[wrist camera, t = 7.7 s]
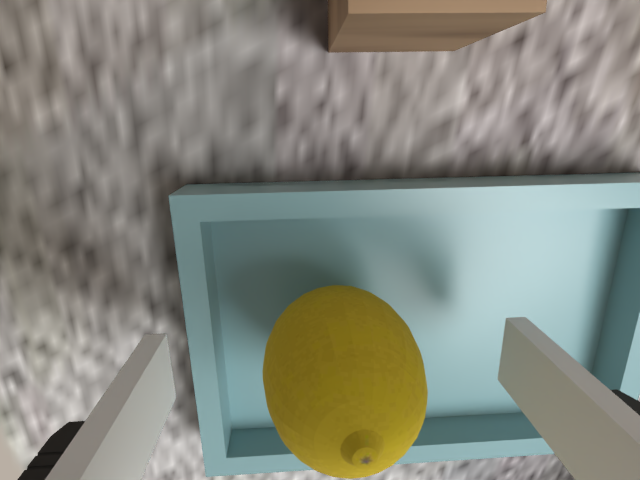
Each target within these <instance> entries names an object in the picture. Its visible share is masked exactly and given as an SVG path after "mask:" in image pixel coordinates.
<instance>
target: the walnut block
mask: <svg viewBox="0 0 640 480" xmlns="http://www.w3.org/2000/svg"><path fill="white" fill-rule="evenodd" d="M546 4H547V0H328V52H409V51H455V50H457V49H460V48H462V47H465V46H467V45H469V44H472V43H474V42H476V41H479V40H481V39H484V38H486V37H488V36H491V35H493V34H495V33H498V32H500V31H502V30H505V29H507V28H510V27H512V26H514V25H517V24H519V23H521V22H524V21H526V20H529V19H531V18H533V17H536V16H538V15H540V14H543V13H545V12H546Z"/></svg>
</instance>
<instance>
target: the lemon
mask: <svg viewBox="0 0 640 480" xmlns="http://www.w3.org/2000/svg"><path fill="white" fill-rule="evenodd" d="M262 373H263V384H264V390H265V397H266V403H267V407H268V410H269V413H270V416H271V418H272V421H273V423H274V425H275V427H276V429H277V431H278V433H279V436H280V438H281V439H282V441H283V442H284V444H285V445H286V446H287V447H288V449H289V450H290V451H291V452H292V453H293V454H294V455H295V456H296V457H297V458H298V459H299V460H300V461H301V462H303V463H304V464H306V465H307V466H309V467H311V468H312V469H314V470H316V471H318V472H320V473H323V474H326V475H329V476H332V477H339V478H361V477H367V476H370V475H373V474H376V473H379V472H381V471H383V470H385V469H386V468H388V467H390V466H392V465H393V464H394V463H396V462H397V461H398V460H399V459H400V458H401V457H403V456H404V455H405V453H406V452H407V451H408V450H409V448H410V447H411V446H412V444H413V443H414V441H415V440H416V439H417V437H418V434H419V432H420V430H421V427H422V425H423V422H424V419H425V415H426V407H427V398H428V389H427V381H426V375H425V369H424V363H423V359H422V355H421V352H420V350H419V347H418V345H417V343H416V341H415V339H414V337H413V335H412V333H411V331H410V329H409V327H408V325H407V324H406V323H405V321H404V320H403V319H402V318H401V317H400V316H399V315H398V314H397V312H396V311H395V310H394V309H393V308H392V307H391V306H390V305H389V304H388V303H386V302H385V301H384V300H382V299H380V298H379V297H377V296H376V295H374V294H372V293H371V292H369V291H366V290H363V289H360V288H356V287H353V286H344V285H331V286H325V287H320V288H317V289H314V290H312V291H310V292H307V293H305V294H303V295H302V296H300V297H299V298H298V299H296V300H295V301H294V302H292V303H291V304H290V305H288V307H287V308H286V309H285V310H284V312H283V313H282V314H281V315H280V317H279V318H278V319H277V321H276V323H275V325H274V327H273V329H272V331H271V334H270V336H269V338H268V341H267V344H266V348H265V355H264V362H263V370H262Z"/></svg>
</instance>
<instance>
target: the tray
mask: <svg viewBox="0 0 640 480" xmlns="http://www.w3.org/2000/svg"><path fill="white" fill-rule="evenodd" d="M168 197H169V204H170V212H171V219H172V226H173V234H174V241H175V249H176V256H177V264H178V271H179V279H180V286H181V294H182V301H183V309H184V316H185V324H186V331H187V338H188V346H189V353H190V361H191V368H192V376H193V383H194V391H195V398H196V406H197V413H198V421H199V428H200V436H201V443H202V450H203V458H204V465H205V473H206V477H210V476H226V475H241V474H256V473H271V472H286V471H301V470H314V469H312V468H311V467H309V466H307V465H306V464H304V463H303V462H301V461H300V460H299V459H298V458H297V457H296V456H295V455H294V454H293V453H292V452H291V451H290V450H289V449H288V447H287V446H286V445H285V444H284V442H283V441H282V439H281V438H280V436H279V433H278V431H277V429H276V427H275V425H274V423H273V421H272V418H271V416H270V413H269V410H268V407H267V403H266V397H265V390H264V384H263V373H262V370H263V362H264V355H265V348H266V344H267V341H268V338H269V336H270V334H271V331H272V329H273V327H274V325H275V323H276V321H277V319H278V318H279V317H280V315H281V314H282V313H283V312H284V310H285V309H286V308H287V307H288V305H290V304H291V303H292V302H294V301H295V300H296V299H298V298H299V297H300V296H302V295H303V294H305V293H307V292H310V291H312V290H314V289H317V288H320V287H325V286H331V285H344V286H353V287H356V288H360V289H363V290H366V291H369V292H371V293H372V294H374V295H376V296H377V297H379V298H380V299H382V300H384V301H385V302H386V303H388V304H389V305H390V306H391V307H392V308H393V309H394V310H395V311H396V312H397V314H398V315H399V316H400V317H401V318H402V319H403V320H404V321H405V323H406V324H407V325H408V327H409V329H410V331H411V333H412V335H413V337H414V339H415V341H416V343H417V345H418V347H419V350H420V352H421V355H422V359H423V363H424V369H425V375H426V381H427V389H428V398H427V407H426V415H425V419H424V422H423V425H422V427H421V430H420V432H419V434H418V437H417V439H416V440H415V441H414V443H413V444H412V446H411V447H410V448H409V450H408V451H407V452H406V453H405V455H404V456H403V457H401V458H400V459H399V460H398V461H397V462H396V463H394V464H408V463H423V462H438V461H453V460H468V459H483V458H499V457H514V456H529V455H544V454H555V453H554V452H553V451H552V449H551V448H550V447H549V445H548V444H547V443H546V442H545V440H544V439H543V438H542V436H541V435H540V434H539V433H538V431H537V430H536V429H535V427H534V426H533V425H532V423H531V422H530V421H529V420H528V418H527V417H526V416H525V414H524V413H523V412H522V411H521V409H520V408H519V407H518V405H517V404H516V403H515V402H514V400H513V399H512V398H511V396H510V395H509V394H508V392H507V391H506V390H505V389H504V387H503V386H502V385H501V383H500V382H499V381H498V380H497V378H498V371H499V364H500V357H501V350H502V342H503V335H504V328H505V321H506V318H513V317H526V318H527V319H528V320H530V321H531V322H532V323H533V324H534V325H535V326H537V327H538V328H539V329H540V330H541V331H542V332H544V333H545V334H546V335H547V336H548V337H549V338H550V339H552V340H553V341H554V342H555V343H556V344H557V345H559V346H560V347H561V348H562V349H563V350H564V351H566V352H567V353H568V354H569V355H570V356H571V357H572V358H574V359H575V360H576V361H577V362H578V363H579V364H581V365H582V366H583V367H584V368H585V369H586V370H588V371H589V372H590V373H591V374H592V375H593V376H594V377H596V378H597V379H598V380H599V381H600V382H601V383H603V384H604V385H605V386H606V387H607V388H608V389H610V390H615V389H618V390H619V391H621V392H623V393H625V394H627V395H629V396H630V397H632V398H634V399H636V400H638V398H639V394H640V172H635V173H597V174H559V175H521V176H484V177H446V178H408V179H370V180H333V181H295V182H257V183H220V184H186V185H185V186H183V187H182V188H180V189H178V190H177V191H175V192H174V193H172V194H170V195H169V196H168Z"/></svg>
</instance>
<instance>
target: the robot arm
mask: <svg viewBox="0 0 640 480" xmlns="http://www.w3.org/2000/svg"><path fill="white" fill-rule="evenodd" d="M497 380H498V381H499V382H500V383H501V385H502V386H503V387H504V389H505V390H506V391H507V392H508V394H509V395H510V396H511V398H512V399H513V400H514V402H515V403H516V404H517V405H518V407H519V408H520V409H521V411H522V412H523V413H524V414H525V416H526V417H527V418H528V420H529V421H530V422H531V423H532V425H533V426H534V427H535V429H536V430H537V431H538V433H539V434H540V435H541V436H542V438H543V439H544V440H545V442H546V443H547V444H548V445H549V447H550V448H551V449H552V451H553V452H554V453H555V454H556V456H557V457H558V458H559V460H560V461H561V462H562V464H563V465H564V466H565V467H566V469H567V470H568V471H569V473H570V474H571V475H572V476H573V478H574V479H575V480H640V402H639V401H638V400H636V399H634V398H632V397H630V396H629V395H627V394H625V393H623V392H621V391H619V390H618V389H615V390H610V389H608V388H607V387H606V386H605V385H604V384H603V383H601V382H600V381H599V380H598V379H597V378H596V377H594V376H593V375H592V374H591V373H590V372H589V371H588V370H586V369H585V368H584V367H583V366H582V365H581V364H579V363H578V362H577V361H576V360H575V359H574V358H572V357H571V356H570V355H569V354H568V353H567V352H566V351H564V350H563V349H562V348H561V347H560V346H559V345H557V344H556V343H555V342H554V341H553V340H552V339H550V338H549V337H548V336H547V335H546V334H545V333H544V332H542V331H541V330H540V329H539V328H538V327H537V326H535V325H534V324H533V323H532V322H531V321H530V320H528V319H527V318H526V317H513V318H506V321H505V328H504V335H503V342H502V350H501V357H500V364H499V371H498V378H497ZM175 399H176V392H175V386H174V379H173V372H172V366H171V359H170V353H169V346H168V339H167V334H147V335H144V337H143V338H142V340H141V341H140V343H139V344H138V346H137V347H136V348H135V350H134V351H133V353H132V354H131V356H130V357H129V359H128V360H127V361H126V363H125V364H124V366H123V367H122V369H121V370H120V372H119V373H118V374H117V376H116V377H115V379H114V380H113V382H112V383H111V385H110V386H109V388H108V389H107V390H106V392H105V393H104V395H103V396H102V398H101V399H100V401H99V402H98V403H97V405H96V406H95V408H94V409H93V411H92V412H91V414H90V415H89V417H88V418H87V419H86V421H78V422H68V423H67V424H66V425H64V426H63V427H62V428H61V429H59V430H58V431H57V432H56V433H54V434H53V435H52V436H51V437H50V438H49V439H48V441H47V442H46V443H45V444H44V446H43V447H42V448H41V450H40V451H39V452H38V456H35V458H34V459H33V460H32V461H31V463H30V464H29V465H28V468H27V470H25V471H24V472H23V473H22V475H21V476H20V477H19V478H18V480H141V479H142V477H143V474H144V472H145V470H146V467H147V465H148V462H149V460H150V458H151V455H152V453H153V451H154V448H155V446H156V444H157V441H158V439H159V437H160V434H161V432H162V429H163V427H164V425H165V422H166V420H167V418H168V415H169V413H170V411H171V408H172V406H173V403H174V401H175Z"/></svg>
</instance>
